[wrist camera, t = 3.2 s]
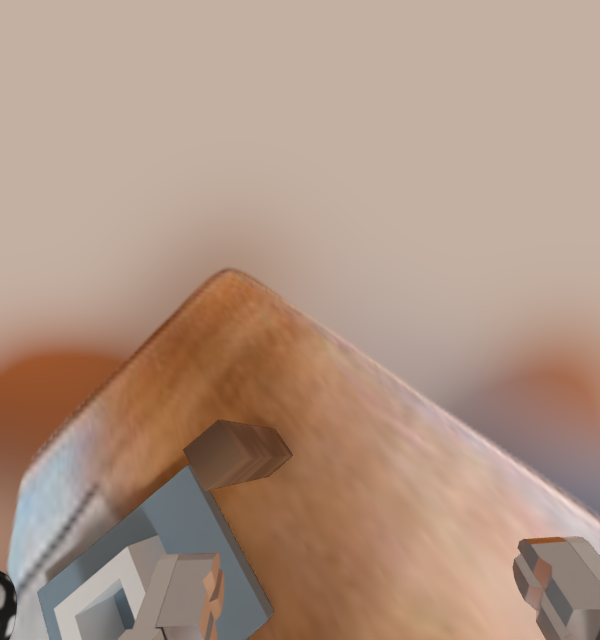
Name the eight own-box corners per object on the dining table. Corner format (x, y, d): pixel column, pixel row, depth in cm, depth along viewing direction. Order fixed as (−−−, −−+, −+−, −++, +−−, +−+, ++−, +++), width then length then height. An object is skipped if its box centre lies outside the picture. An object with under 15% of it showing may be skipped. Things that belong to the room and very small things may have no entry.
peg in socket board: (274, 611, 28) (249, 647, 23) (101, 763, 27) (35, 835, 22) (195, 464, 34) (161, 467, 29) (51, 585, 33) (-9, 610, 28)
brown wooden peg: (293, 455, 32) (242, 458, 21) (268, 476, 32) (204, 490, 21) (275, 429, 33) (218, 419, 22) (251, 449, 33) (183, 449, 22)
